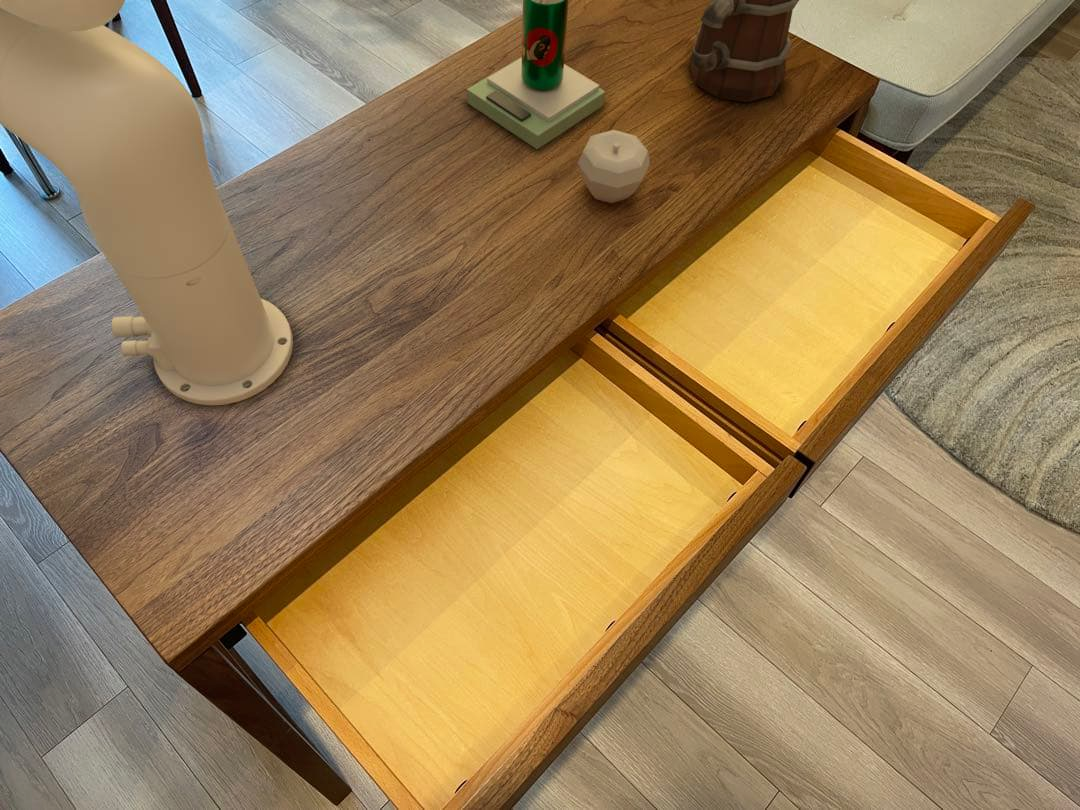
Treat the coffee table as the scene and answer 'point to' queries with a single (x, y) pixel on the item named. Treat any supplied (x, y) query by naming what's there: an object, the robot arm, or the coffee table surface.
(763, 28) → the mug
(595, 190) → the white apple
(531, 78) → the soda can
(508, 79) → the scale
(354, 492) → the coffee table surface
